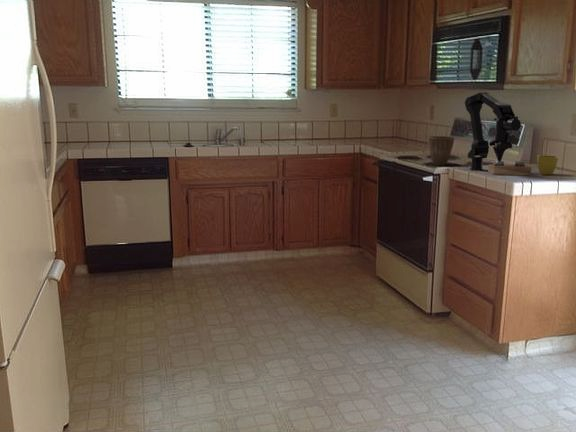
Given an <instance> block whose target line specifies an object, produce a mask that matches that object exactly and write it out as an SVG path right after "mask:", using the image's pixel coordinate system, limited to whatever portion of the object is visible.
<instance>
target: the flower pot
mask: <svg viewBox="0 0 576 432" xmlns="http://www.w3.org/2000/svg"><path fill="white" fill-rule="evenodd" d="M557 163H558V156H557V155H546V154H545V155H541V154H539V155H538V154H537V169H538V172H539V173H540V175H549V176H551V175H553V174H554V172H555V170H556V168H557Z"/></svg>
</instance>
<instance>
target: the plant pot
mask: <svg viewBox="0 0 576 432" xmlns="http://www.w3.org/2000/svg"><path fill="white" fill-rule="evenodd" d="M427 140H428V141H427V142H428V148H429V154H430V158H431V161H432V162H431V163H432V164H433V165H435V166H446V165H447V163H448V161H449V159H450V156H451V153H452V150H453V146H454V142H455V137H454V136H445V135H444V136H440V135H439V136H437V135H434V136H428V137H427Z"/></svg>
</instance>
